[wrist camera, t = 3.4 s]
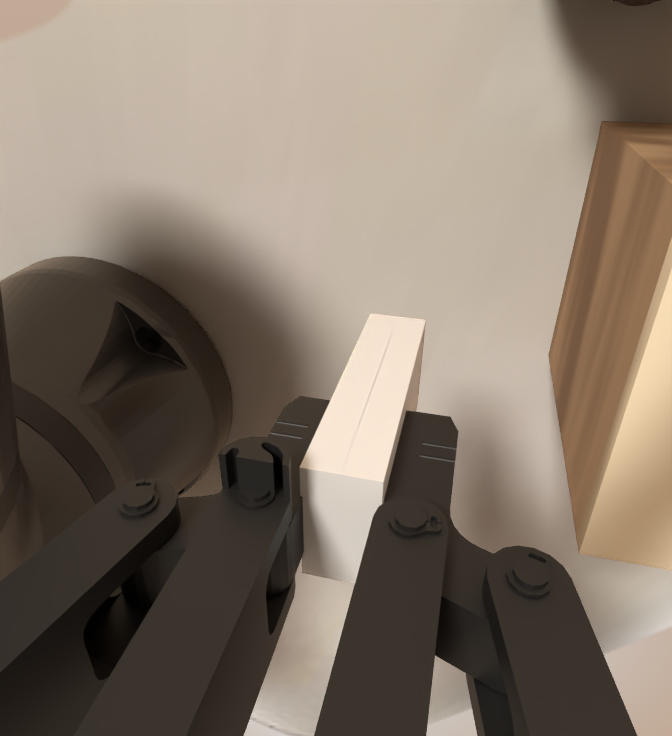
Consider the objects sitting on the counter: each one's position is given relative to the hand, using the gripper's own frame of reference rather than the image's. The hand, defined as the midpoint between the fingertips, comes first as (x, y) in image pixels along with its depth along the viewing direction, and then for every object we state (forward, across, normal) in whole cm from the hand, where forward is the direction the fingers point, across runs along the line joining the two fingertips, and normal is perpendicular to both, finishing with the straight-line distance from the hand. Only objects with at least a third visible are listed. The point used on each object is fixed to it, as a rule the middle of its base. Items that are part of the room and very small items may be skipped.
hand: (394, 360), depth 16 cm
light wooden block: (+11, +8, 0) cm, 13 cm away
